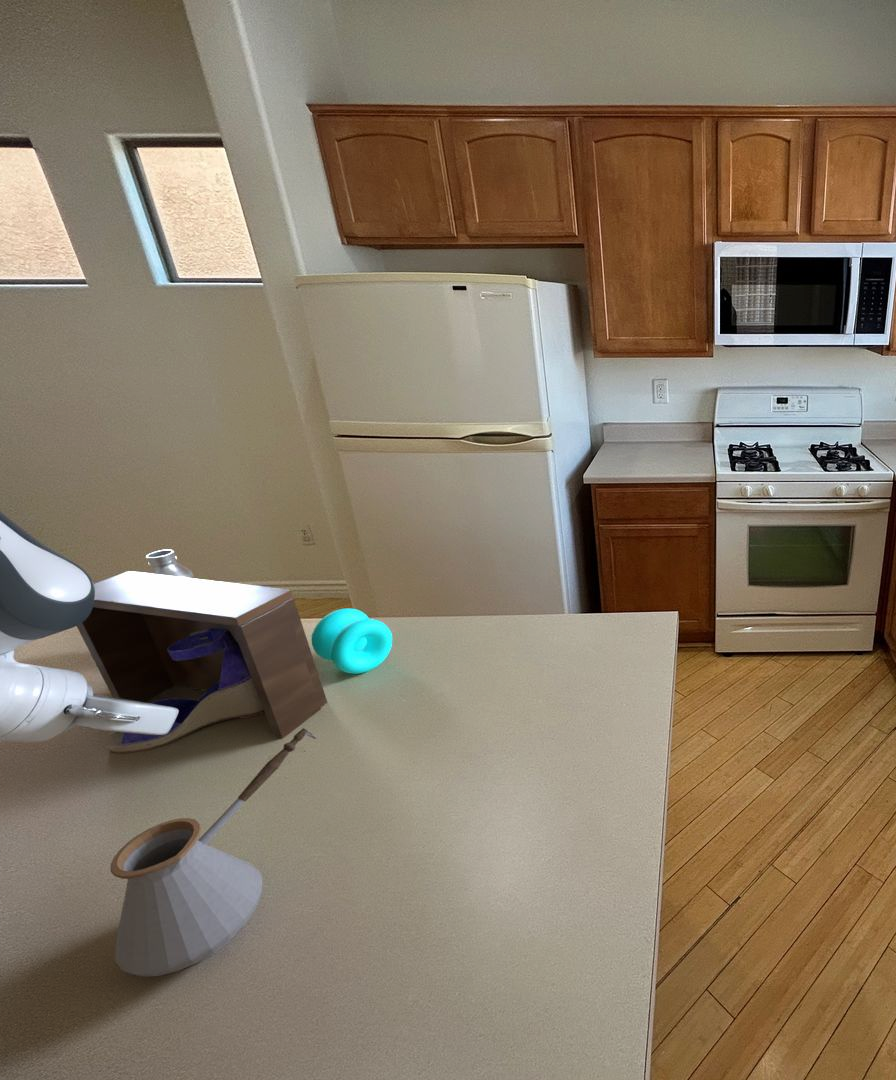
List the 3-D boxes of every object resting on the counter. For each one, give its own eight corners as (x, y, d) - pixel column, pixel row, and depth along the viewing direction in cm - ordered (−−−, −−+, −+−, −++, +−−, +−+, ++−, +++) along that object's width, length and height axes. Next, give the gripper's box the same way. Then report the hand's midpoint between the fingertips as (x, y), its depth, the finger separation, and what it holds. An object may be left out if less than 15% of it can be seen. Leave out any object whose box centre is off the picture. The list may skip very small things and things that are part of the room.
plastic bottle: (175, 661, 102) (133, 564, 95) (176, 646, 107) (136, 552, 99) (221, 649, 106) (183, 554, 99) (220, 634, 111) (184, 543, 103)
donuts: (344, 686, 96) (329, 637, 93) (316, 667, 101) (301, 620, 98) (400, 658, 104) (389, 612, 100) (372, 642, 109) (360, 598, 105)
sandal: (131, 723, 87) (91, 642, 82) (280, 697, 94) (252, 620, 88) (98, 759, 80) (51, 674, 75) (261, 729, 87) (230, 648, 81)
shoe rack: (119, 710, 90) (60, 595, 82) (176, 678, 98) (127, 570, 90) (282, 738, 85) (237, 618, 76) (329, 702, 92) (292, 589, 84)
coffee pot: (170, 1012, 52) (103, 906, 46) (100, 964, 55) (30, 860, 50) (373, 829, 70) (344, 737, 64) (311, 802, 74) (278, 712, 68)
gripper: (117, 689, 68) (224, 703, 81) (-5, 669, 72) (115, 685, 84) (87, 743, 66) (202, 749, 78) (-38, 719, 69) (91, 728, 82)
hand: (156, 716), depth 81 cm, fingers closed
